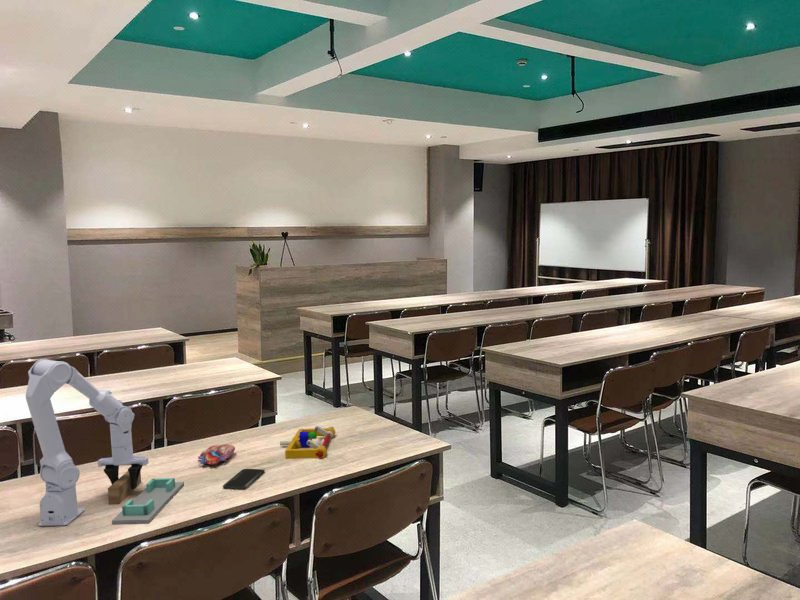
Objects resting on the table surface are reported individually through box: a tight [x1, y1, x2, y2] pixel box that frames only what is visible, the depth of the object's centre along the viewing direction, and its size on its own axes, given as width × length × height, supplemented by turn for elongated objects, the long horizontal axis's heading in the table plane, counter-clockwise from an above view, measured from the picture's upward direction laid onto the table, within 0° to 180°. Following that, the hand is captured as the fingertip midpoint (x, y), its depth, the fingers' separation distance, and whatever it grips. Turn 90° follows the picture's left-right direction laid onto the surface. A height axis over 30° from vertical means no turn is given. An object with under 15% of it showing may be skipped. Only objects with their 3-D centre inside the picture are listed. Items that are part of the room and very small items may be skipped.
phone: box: [222, 468, 266, 491], centre depth 195 cm, size 8×1×15 cm
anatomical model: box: [197, 443, 236, 465], centre depth 213 cm, size 11×6×15 cm
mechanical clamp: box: [279, 425, 336, 460], centre depth 227 cm, size 18×6×30 cm
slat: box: [107, 470, 142, 505], centre depth 188 cm, size 16×3×5 cm, turn 1°
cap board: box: [111, 477, 185, 525], centre depth 180 cm, size 26×10×4 cm, turn 179°
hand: (125, 488), depth 188 cm, fingers open, 5 cm apart
